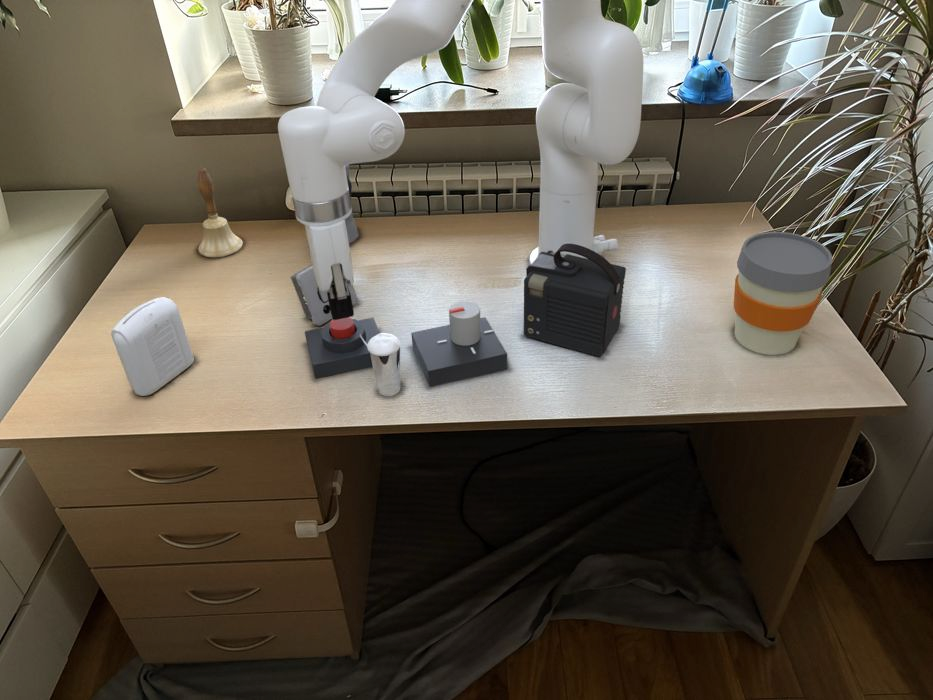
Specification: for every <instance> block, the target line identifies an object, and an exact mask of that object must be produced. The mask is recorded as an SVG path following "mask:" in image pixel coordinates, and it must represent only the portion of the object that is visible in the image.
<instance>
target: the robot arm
mask: <svg viewBox="0 0 933 700" xmlns="http://www.w3.org/2000/svg"><path fill="white" fill-rule="evenodd" d="M473 2H474V0H393V1H392V2H391V4H390V5H389V7H388V8H387V9H386V10H384V12H383V13H381V14H380V15H379V16H377V17H376V18H375V19H374V20H373V21H372V22H371V23H369V24H368V25H367V26H366V27H365V28H364V29H363V30H362V31H361V32H360V33H358V34H357V35H356V36H355V37H354V38H353V39H352V40H351V41H350V42H349V43H348V45H347V46H346V47H345V48H344V49H343V51H342V52H341V54H340V55H339V57H338V58H337V60H336V62H335V63H334V65H333V67H332V68H331V71H330V72H329V74H328V76H327V78H326V79H325V82H324V84H323V86H322V88H321V90H320V93H319V95H318V99H317V102H316V106H313V105H312V106H310V105H309V106H301V107H297V108H294V109H291V110H288V111H286V112H285V113H284V114H283V115H281V117H280V118H279V120H278V123H277V133H278V137H279V142H280V147H281V152H282V156H283V161H284V166H285V171H286V176H287V180H288V184H289V190H290V195H291V200H292V204H293V205H292V206H293V210H294V214H295V219H296V220H297V222H299V223H300V224H302V225H304V229H305V234H306V240H307V246H308V250H309V254H310V262H311V265H312V266H313V270H314V273H315V277H316V280H317V284H318V287H319V289H320V290H321V291H322V292H325V291H329V292H327V295H328V300H329V306H330V311H331V315H332V320H338V319H343V318H347V317H350V318H352V317H354V315H355V311H354V305H352V299H351V294H350V292H349V288H348V285H350V286H352V285H353V286H354V284H355V278H354V271H353V263H352V262H353V261H352V255H351V249H350V244H349V241H348V235H347V229H346V224H345V219H346V218H347V217H349V215H350V214H351V213H352V212H353V207H352V200H351V201H350V195H349V188H348V182H347V175H346V169H345V165H346V164H349V165H353V164H362V163H363V164H364V163H373V162H378V161H382V160H384V159H387V158H389V157H391V156H392V155H394V154H395V153H396V152H397V151H398V150H399V149H400V148H401V146H402V144H403V141H404V139H405V133H406V131H405V130H406V129H405V123H404V121H403V119H402V117H401V116H400V114H399V113H398V111H396V110H395V109H394V108H393V107H392V106H390V105H389V104H387V103H385V102H383V101H382V100H380V99H378V98H376V97H375V96H376V95H377V93H378V91H379V89H380V88H381V86H382V85H383V84H384V82H385V81H386V79H387V78H388V77H389V76H390V75H391V74H392V73H393V72H394V71H395V70H397V69H398V68H399V67H400V66H402V65H404V64H406V63H408V62H410V61H412V60H414V59H419V58H421V57H424V56H428V55H430V54H431V55H432V54H433V53H436V52H438V51H441V50H442V49H444V48H446V47H447V46H448V44H449V43H450V42H451V40H452V38H453V37H454V35H455V33H456V31H457V30H458V27H459V25H460V24H461V22H462V21H463V19H464V17H465V16H466V13H467V12H468V10H469V8H470V7H471V5H472V3H473ZM601 6H602V1H601V0H540V16H541V17H540V19H541V20H540V21H541V43H542V44H541V45H542V58H543V63H544V66H545V68H546V71H548V72H549V73H550V74H551V75H552V76H554V77H556V78H558V79H560V80H562V81H564V82H561V83H558V84H555V85H552V86H551V87H549V88H548V89H547V90H546V91H545V92H544V93H543V94H542V96H541V97H540V99H539V101H538V103H537V107H536V111H535V112H536V113H535V125H536V126H535V128H536V134H537V139H538V140H537V141H538V145H539V155H540V180H539V181H540V183H539V214H538V215H539V217H538V219H539V220H538V246H537V247H536V248H535V249H533V250H532V251H531V253H530V255H529V261H528V262H529V266H530V265H531V264H532V263H533V262H534V261H535V259H536V258H537V257H538V255H539V253H540V252H546V253H547V252H548V251H550V250H551V251H553V252H555V253H556V252H557V250H558V249H559V248H560V247H561V246H562V245H563V244H576V245H580V246H583V247H586V248H588V249H590V250H592V251H594V252H596V253H598V254H599V255H601V254H602V253H603V252H608V251H614V250H618V248H619V242H618V239H617V238H610V239H606V237H605V235H604V234H599V235H596V236H594V235H595V221H596V210H597V209H596V208H597V196H598V183H599V165H598V164H600V165H605V166H614V165H617V164H620V163H623V162H624V161H626V159H627V158H628V157H629V156H630V155H631V154H632V152H633V151H634V149H635V146H636V145H637V142H638V139H639V134H640V131H641V121H642V105H643V87H644V85H643V84H644V52H643V47H642V44H641V41H640V39H639V37H638V36H637V34H636V33H635V32H634V31H633V30H632V29H631V28H630V27H628V26H626V25H624V24H622V23H619V22H616V21H614V20H613V21H612V20H609V19H606V18H605V16H603V13H602V7H601ZM560 254H564V255H566V254H569V255H573V256H577V257H582V258H585V257H583V256H581V255H578V254H575V253H571V252H565V251H564V252H560ZM586 259H587V258H586Z"/></svg>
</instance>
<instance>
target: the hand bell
mask: <svg viewBox="0 0 933 700" xmlns="http://www.w3.org/2000/svg"><path fill="white" fill-rule="evenodd" d="M197 171H198V172H197V173H198V174H197V186H198V190H199V192H200V195H201V197H202V198H203V200H204V203H205V206H206V210H207V216H208V218H207V219H205V220H204V221H203V222H202V229H203V231H202V232H203V237H202V241H201V242H200V244H199V246H198V253H199V254H200V255H202V256H203V257H207V258H224V257H227V256H230V255H233V254H235V253H237V252H238V251H240V250H241V249H242V247H243V244H244V241H243V239H241V238H240V237H239V235H236V234H234V232H233V231H232V229H231V228H230V225H229V223H228V220H227V219H226V218H225V217H222V216H219V215H218V210H217V206H216V202H215V187H214V182H213V179H212V177H211V175H210V174H209V173H208V171H207V168H206V167H200V168H198V169H197Z"/></svg>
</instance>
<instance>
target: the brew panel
mask: <svg viewBox="0 0 933 700" xmlns="http://www.w3.org/2000/svg"><path fill="white" fill-rule="evenodd" d="M480 323H481V338H480V340H479V341H478V342H477V343H475V344H473V345H468V346H462V345H457V344H455V343H454V342H453V341H452V340H451V338H450V324H446V325H442V326H437V327H431V328H426V329H422V330H417V331H413V332H410V334H411V345H412V350H413V353H414V354H415V357H416V359H417V362H418V364H419V366H420V368H421V371H422V373H423V375H424V377H425V380H426V382H427V385H428V387H429V388H431V387H436V386H440V385H444V384H449V383H453V382H459V381H463V380H466V379H467V380H468V379H472V378H476V377H480V376H484V375H489V374H493V373H498V372H502V371H506V370H508V353H507V351H506V350H505V348H504V346H503V344H502V343H501V341H500V339H499V338H498V336H497V334H496V332H495V331H494V329H493V328H492V325H491V324H490V322H489V320H488V319H487V317H486V316H485V317H480Z"/></svg>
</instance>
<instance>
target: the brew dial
mask: <svg viewBox="0 0 933 700" xmlns="http://www.w3.org/2000/svg"><path fill="white" fill-rule="evenodd" d="M480 318H481V307H480V306H479V304H477V303H476V302H473V301H470V300H461V301H456V302H454V303H453V304H451V305H450V307H449V308H448V319H449V320H448V321H449V325H450V338H451V340H452V341H453V342H454V343H455V344H457V345H462V346H468V345H473V344H475V343H477V342H478V341H479V340H480V338H481V323H480Z"/></svg>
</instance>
